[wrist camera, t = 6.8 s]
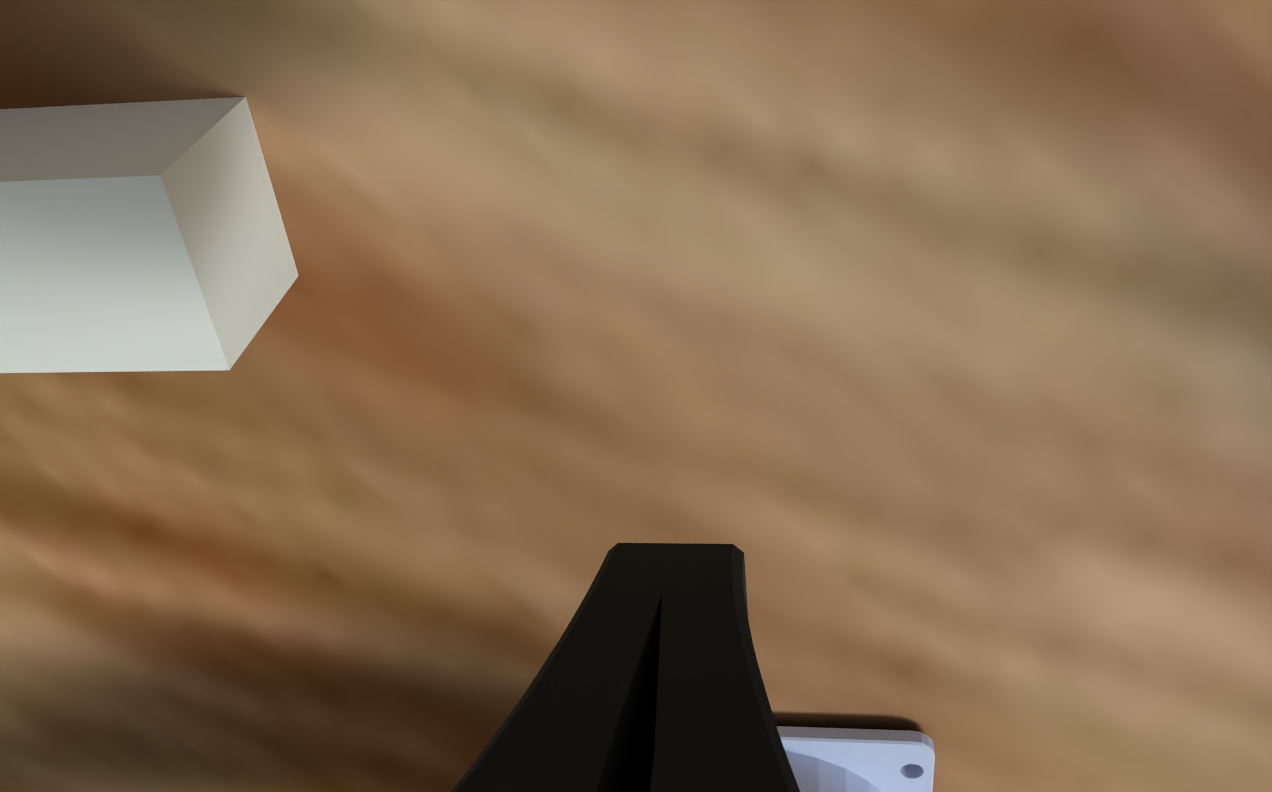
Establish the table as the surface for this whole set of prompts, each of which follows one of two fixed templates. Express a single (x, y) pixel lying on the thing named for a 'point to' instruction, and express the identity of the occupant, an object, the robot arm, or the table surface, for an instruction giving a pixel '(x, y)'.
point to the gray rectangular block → (136, 237)
